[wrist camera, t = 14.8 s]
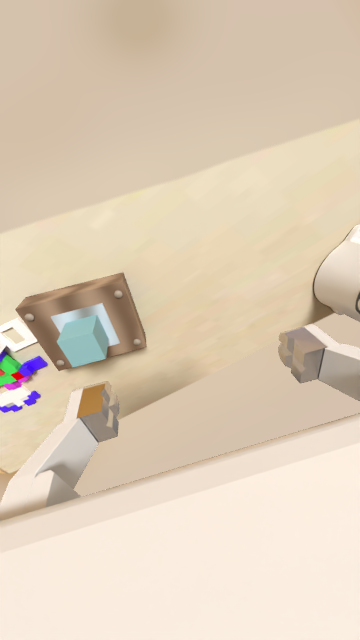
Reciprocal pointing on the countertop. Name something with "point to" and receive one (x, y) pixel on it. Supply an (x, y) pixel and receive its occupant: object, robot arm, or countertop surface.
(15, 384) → the building block set
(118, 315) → the plinth
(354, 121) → the countertop surface
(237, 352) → the countertop surface
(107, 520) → the robot arm
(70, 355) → the teal block
